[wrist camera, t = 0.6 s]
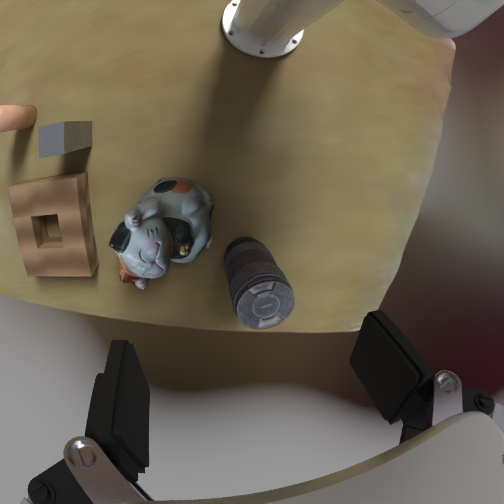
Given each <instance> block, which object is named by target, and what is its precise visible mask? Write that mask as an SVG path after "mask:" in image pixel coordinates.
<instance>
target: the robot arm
mask: <svg viewBox="0 0 504 504" xmlns="http://www.w3.org/2000/svg"><path fill="white" fill-rule="evenodd" d="M342 1H343V0H233V1H231V2H230V4H229V5H228V6H227V7H226V9H225V11H224V13H223V17H222V29H223V32H224V34H225V36H226V38H227V39H228V41H229V42H230V43H231V44H232V45H233V46H234V47H236V48H237V49H238V50H240V51H242V52H244V53H246V54H248V55H251V56H254V57H260V58H273V57H279V56H282V55H285V54H286V53H288V52H290V51H292V50H293V49H294V48H295V47H296V46H297V45H298V44H299V43H300V41H301V39H302V37H303V34H304V29H305V28H306V27H308V26H309V25H310V24H312V23H313V22H315V21H316V20H318V19H319V18H320V17H322V16H323V15H325V14H326V13H328V12H329V11H331V10H332V9H334V8H335V7H337V6H338V5H339V4H340V3H341V2H342ZM377 1H378V2H380V3H381V4H383V5H384V6H386V7H387V8H388V9H390V10H391V11H393V12H394V13H395V14H397V15H398V16H399V17H400V18H402V19H403V20H404V21H406V22H407V23H408V24H410V25H411V26H412V27H414V28H415V29H417V30H418V31H420V32H421V33H423V34H425V35H427V36H430V37H433V38H439V39H447V38H453V37H456V36H459V35H461V34H464V33H465V32H467V31H469V30H471V29H472V28H474V27H475V26H477V25H478V24H480V23H481V22H482V21H483V20H485V19H486V18H487V17H488V16H490V15H491V14H492V13H493V12H495V11H496V10H497V9H498V8H500V7H501V6H502V5H503V4H504V0H377ZM233 6H235V7H233ZM229 34H232V35H229ZM292 42H293V43H294V44H293V43H292ZM260 52H262V53H263V54H260ZM350 364H351V366H352V368H353V370H354V371H355V373H356V374H357V376H358V378H359V379H360V381H361V383H362V384H363V386H364V387H365V389H366V390H367V392H368V394H369V395H370V397H371V399H372V400H373V402H374V403H375V405H376V407H377V408H378V410H379V412H380V413H381V415H382V417H383V418H384V419H385V420H388V422H389V424H390V425H391V424H393V423H395V422H397V421H399V420H400V419H401V420H402V421H403V427H402V432H401V436H400V442H399V445H398V446H396V447H394V448H392V449H390V450H388V451H386V452H384V453H382V454H379V455H377V456H375V457H373V458H370V459H368V460H366V461H364V462H361V463H359V464H356V465H354V466H351V467H349V468H346V469H343V470H341V471H338V472H335V473H332V474H329V475H326V476H323V477H320V478H317V479H314V480H310V481H307V482H303V483H299V484H295V485H292V486H287V487H283V488H279V489H274V490H269V491H264V492H259V493H253V494H247V495H240V496H232V497H223V498H212V499H199V500H169V501H155V500H154V499H153V498H152V497H151V496H150V495H149V494H148V493H147V492H146V491H145V490H144V489H143V488H142V487H141V486H140V485H139V484H138V483H137V481H138V473H145V467H149V404H150V390H149V386H148V383H147V381H146V378H145V376H144V373H143V370H142V368H141V365H140V362H139V360H138V357H137V354H136V351H135V348H134V345H133V344H129V343H128V341H127V340H112V342H111V346H110V350H109V354H108V358H107V362H106V367H105V371H104V373H99V374H98V375H97V376H96V379H95V383H94V388H93V392H92V397H91V402H90V407H89V412H88V419H87V424H86V430H85V437H84V436H78V437H75V438H72V439H71V440H69V441H68V442H67V444H66V445H65V448H64V451H63V454H64V459H62V460H61V461H59V462H58V463H56V464H55V465H53V466H52V467H50V468H49V469H47V470H46V471H44V472H43V473H41V474H39V475H38V476H36V477H35V478H33V479H32V480H31V481H30V483H29V485H28V494H29V497H28V498H27V499H26V498H24V499H23V500H22V502H21V503H20V504H504V407H503V406H501V405H499V404H498V403H495V405H494V401H493V399H492V397H491V396H490V395H489V394H488V393H486V392H484V391H479V390H475V389H471V388H467V387H462V386H461V382H460V380H459V378H458V377H457V376H456V375H455V374H454V373H452V372H449V371H441V372H439V373H437V374H436V376H435V375H434V372H435V370H434V369H433V368H432V367H431V365H430V364H429V363H428V362H427V360H426V359H425V358H424V357H423V356H422V355H421V353H420V352H419V351H418V350H417V349H416V348H415V346H414V345H413V344H412V343H411V342H410V341H409V340H408V338H407V337H406V336H405V335H404V334H403V333H402V332H401V331H400V329H399V328H398V327H397V326H396V325H395V324H394V323H393V322H392V321H391V319H390V318H389V317H388V316H387V315H386V314H385V313H384V312H383V311H382V310H376V311H372V312H369V313H368V314H367V316H365V318H364V320H363V323H362V326H361V329H360V332H359V335H358V338H357V341H356V344H355V347H354V349H353V352H352V355H351V357H350Z"/></svg>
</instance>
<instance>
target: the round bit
mask: <svg viewBox="0 0 504 504" xmlns="http://www.w3.org/2000/svg"><path fill="white" fill-rule="evenodd" d="M36 117H37V110H36V108H35V107H34V106H33V105H0V132H6V131H12V130H18V129H25V128H30V127H31V126H32V125H33V124H34V122H35V120H36Z"/></svg>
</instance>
